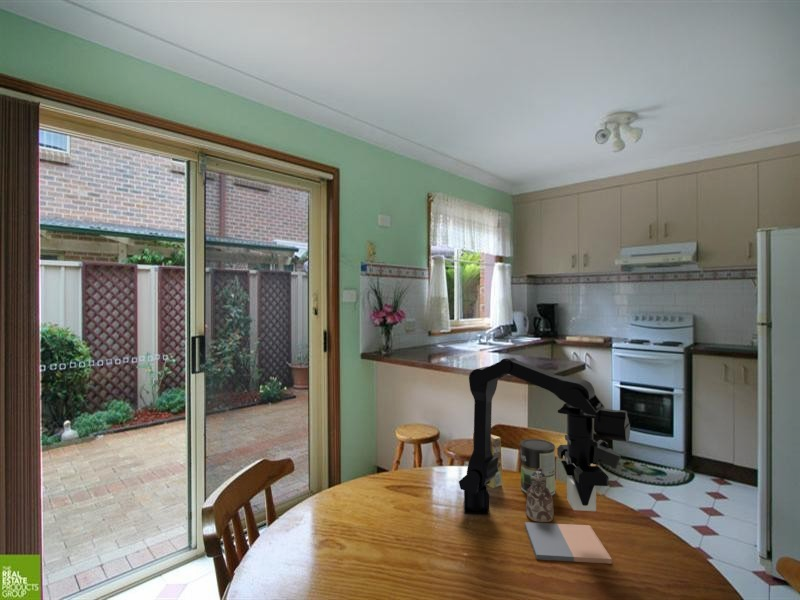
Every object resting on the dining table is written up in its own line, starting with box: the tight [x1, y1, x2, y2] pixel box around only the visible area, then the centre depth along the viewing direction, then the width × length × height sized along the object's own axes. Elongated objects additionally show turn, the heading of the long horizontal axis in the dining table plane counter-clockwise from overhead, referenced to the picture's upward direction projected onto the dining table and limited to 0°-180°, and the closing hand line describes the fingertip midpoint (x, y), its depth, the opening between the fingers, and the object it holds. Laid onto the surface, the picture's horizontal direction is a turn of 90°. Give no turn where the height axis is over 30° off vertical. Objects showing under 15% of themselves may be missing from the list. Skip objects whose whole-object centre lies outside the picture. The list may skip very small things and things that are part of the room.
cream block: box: [566, 474, 597, 512], centre depth 97 cm, size 5×5×6 cm
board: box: [524, 521, 613, 565], centre depth 97 cm, size 16×14×1 cm
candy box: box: [472, 432, 503, 489], centre depth 132 cm, size 9×4×15 cm, turn 33°
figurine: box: [525, 468, 555, 523], centre depth 110 cm, size 7×7×12 cm
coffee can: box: [519, 438, 556, 497], centre depth 126 cm, size 10×10×14 cm
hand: (581, 499), depth 97 cm, fingers closed on cream block, 5 cm apart
